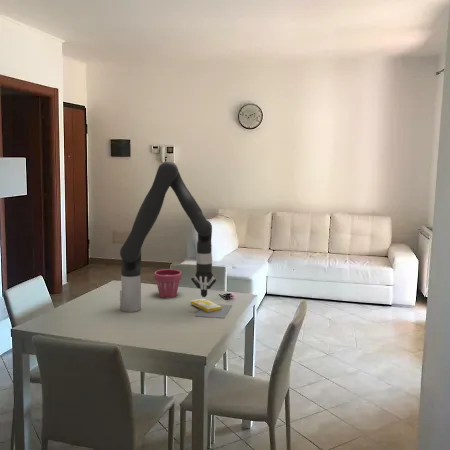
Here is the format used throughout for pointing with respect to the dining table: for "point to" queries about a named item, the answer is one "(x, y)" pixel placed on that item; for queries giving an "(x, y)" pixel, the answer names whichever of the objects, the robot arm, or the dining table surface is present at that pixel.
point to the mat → (215, 312)
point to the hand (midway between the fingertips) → (204, 296)
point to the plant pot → (167, 282)
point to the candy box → (206, 305)
